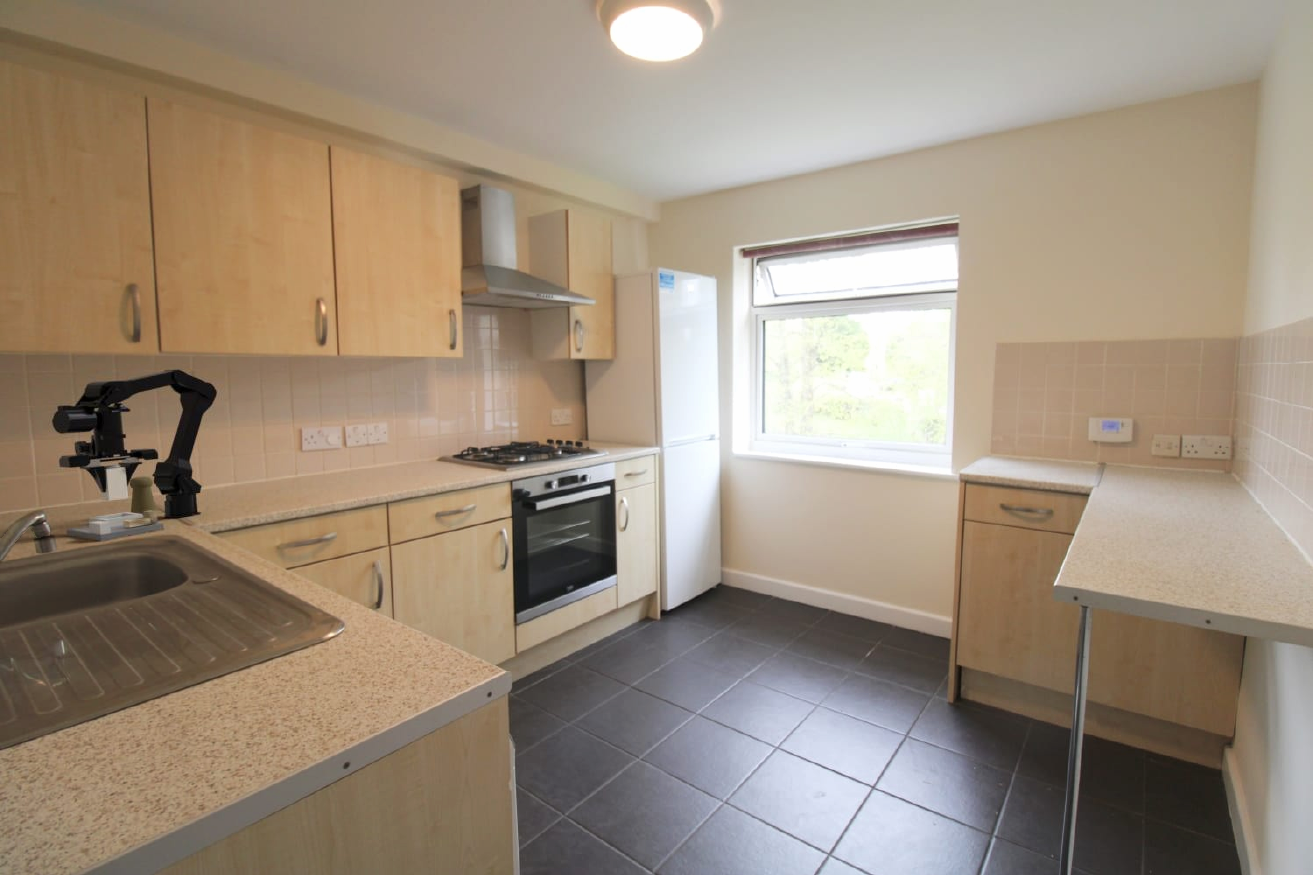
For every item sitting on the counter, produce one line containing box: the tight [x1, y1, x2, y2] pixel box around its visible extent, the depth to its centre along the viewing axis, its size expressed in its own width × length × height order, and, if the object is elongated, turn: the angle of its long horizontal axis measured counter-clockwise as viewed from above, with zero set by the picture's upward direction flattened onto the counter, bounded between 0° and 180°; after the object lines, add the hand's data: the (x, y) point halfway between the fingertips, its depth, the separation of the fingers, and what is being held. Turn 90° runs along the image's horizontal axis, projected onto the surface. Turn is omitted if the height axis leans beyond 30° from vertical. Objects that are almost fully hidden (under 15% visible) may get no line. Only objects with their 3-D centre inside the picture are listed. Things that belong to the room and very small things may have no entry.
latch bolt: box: [123, 510, 159, 527], centre depth 159 cm, size 6×3×3 cm, turn 154°
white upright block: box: [99, 464, 129, 502], centre depth 162 cm, size 4×4×9 cm
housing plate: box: [65, 511, 165, 542], centre depth 159 cm, size 13×17×4 cm
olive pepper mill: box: [129, 476, 158, 515], centre depth 182 cm, size 6×6×11 cm
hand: (114, 491), depth 162 cm, fingers closed on white upright block, 4 cm apart
